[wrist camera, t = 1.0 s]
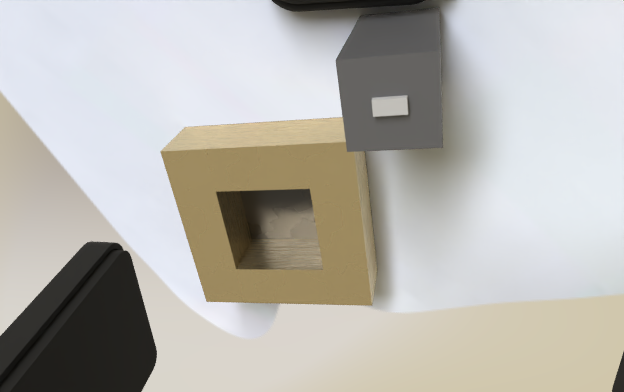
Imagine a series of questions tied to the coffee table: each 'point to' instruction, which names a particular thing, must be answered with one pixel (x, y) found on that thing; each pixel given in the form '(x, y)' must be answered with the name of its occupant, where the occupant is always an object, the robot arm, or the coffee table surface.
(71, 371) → the robot arm
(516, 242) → the coffee table surface
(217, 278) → the socket plate
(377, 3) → the carrying case or bag
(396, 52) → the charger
